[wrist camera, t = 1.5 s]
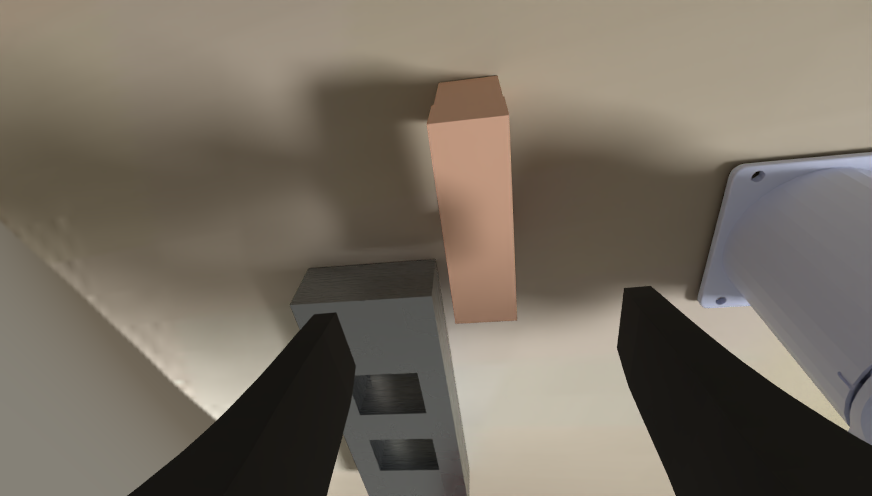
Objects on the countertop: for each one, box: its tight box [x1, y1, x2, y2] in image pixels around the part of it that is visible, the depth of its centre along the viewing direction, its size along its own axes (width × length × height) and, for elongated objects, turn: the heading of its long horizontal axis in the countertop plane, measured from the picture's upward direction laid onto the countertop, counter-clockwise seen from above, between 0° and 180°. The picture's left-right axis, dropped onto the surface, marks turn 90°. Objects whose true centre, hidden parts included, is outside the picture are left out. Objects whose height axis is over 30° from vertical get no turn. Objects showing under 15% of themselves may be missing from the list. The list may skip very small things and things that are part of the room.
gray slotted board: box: [290, 259, 469, 496], centre depth 27 cm, size 7×20×3 cm, turn 8°
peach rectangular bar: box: [427, 76, 517, 324], centre depth 17 cm, size 2×8×6 cm, turn 8°
